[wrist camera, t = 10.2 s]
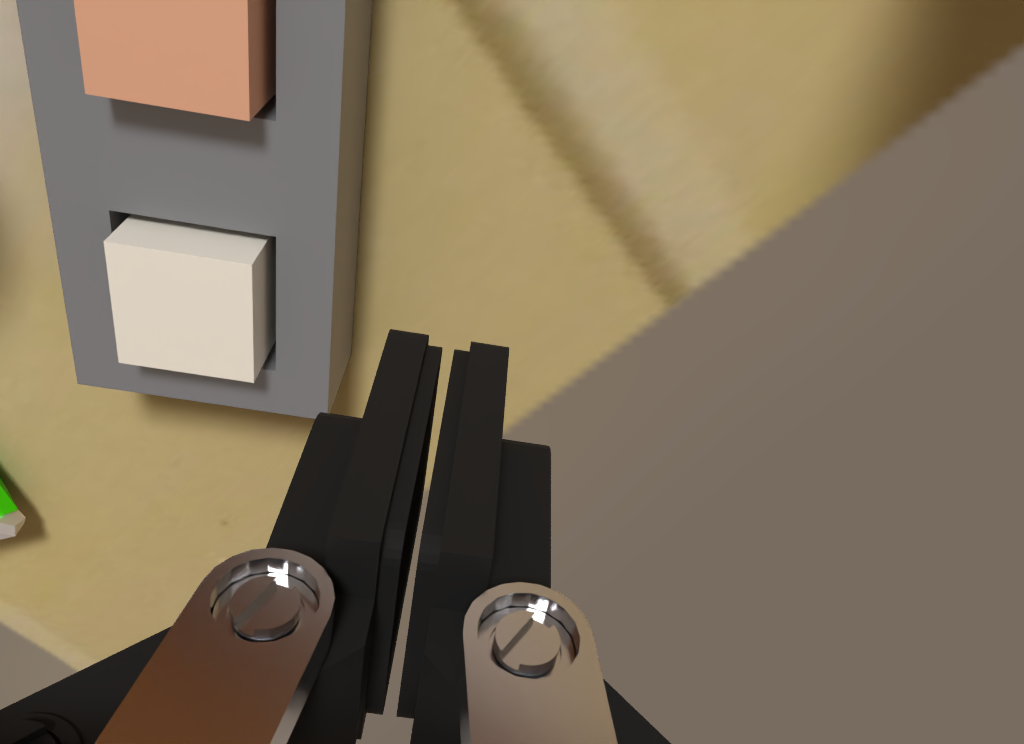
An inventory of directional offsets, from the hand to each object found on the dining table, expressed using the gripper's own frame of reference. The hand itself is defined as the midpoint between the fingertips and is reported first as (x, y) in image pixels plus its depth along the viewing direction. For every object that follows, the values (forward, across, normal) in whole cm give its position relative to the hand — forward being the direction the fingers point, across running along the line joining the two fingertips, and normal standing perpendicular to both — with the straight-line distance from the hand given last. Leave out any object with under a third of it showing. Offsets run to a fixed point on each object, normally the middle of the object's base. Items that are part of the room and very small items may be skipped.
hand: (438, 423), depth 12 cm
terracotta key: (+27, +12, +1) cm, 30 cm away
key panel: (+29, +12, +7) cm, 32 cm away
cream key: (+27, +12, +13) cm, 33 cm away
